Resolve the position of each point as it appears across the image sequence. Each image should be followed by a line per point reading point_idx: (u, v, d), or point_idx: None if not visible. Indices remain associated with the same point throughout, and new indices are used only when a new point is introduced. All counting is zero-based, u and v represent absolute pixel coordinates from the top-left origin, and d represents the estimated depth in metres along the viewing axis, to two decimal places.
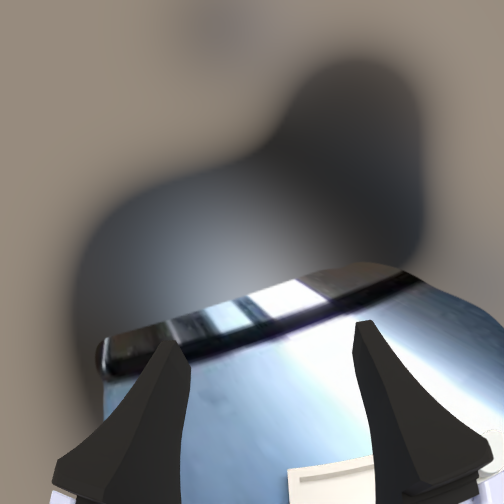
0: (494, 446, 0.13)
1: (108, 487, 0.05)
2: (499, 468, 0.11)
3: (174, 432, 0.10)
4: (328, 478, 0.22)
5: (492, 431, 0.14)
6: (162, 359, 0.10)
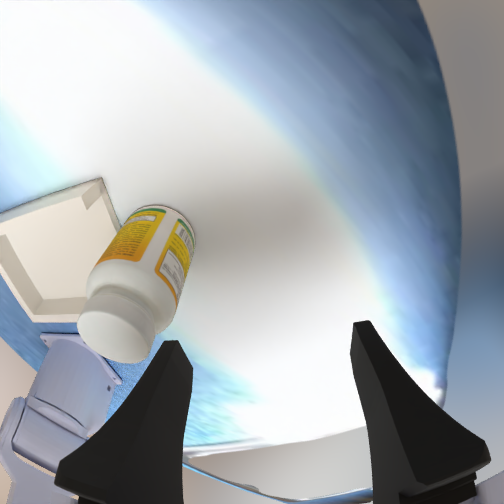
0: (113, 335, 0.13)
1: (111, 488, 0.05)
2: (127, 362, 0.14)
3: (176, 432, 0.10)
4: None
5: (105, 315, 0.12)
6: (164, 359, 0.10)
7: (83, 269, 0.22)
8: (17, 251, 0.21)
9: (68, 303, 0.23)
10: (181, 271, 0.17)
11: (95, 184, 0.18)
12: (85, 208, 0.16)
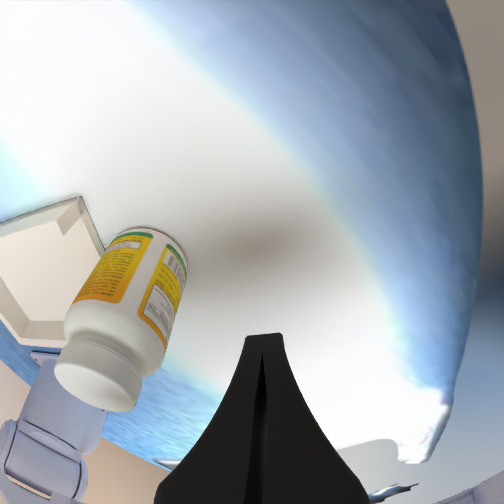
0: (93, 387, 0.11)
1: None
2: (112, 411, 0.12)
3: (265, 433, 0.09)
4: None
5: (81, 369, 0.10)
6: (256, 354, 0.10)
7: (68, 293, 0.20)
8: (0, 271, 0.19)
9: (55, 327, 0.21)
10: (171, 308, 0.15)
11: (73, 204, 0.15)
12: (61, 234, 0.14)
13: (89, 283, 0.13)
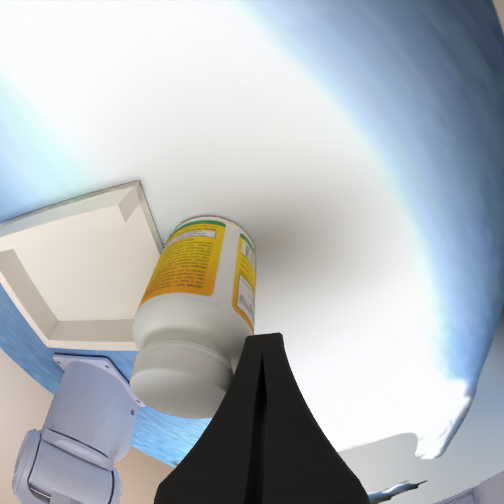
0: (182, 393, 0.10)
1: None
2: (194, 418, 0.11)
3: (265, 433, 0.09)
4: None
5: (177, 374, 0.09)
6: (256, 354, 0.10)
7: (110, 290, 0.19)
8: (27, 266, 0.18)
9: (90, 327, 0.20)
10: (254, 301, 0.14)
11: (133, 189, 0.15)
12: (123, 220, 0.13)
13: (166, 275, 0.12)
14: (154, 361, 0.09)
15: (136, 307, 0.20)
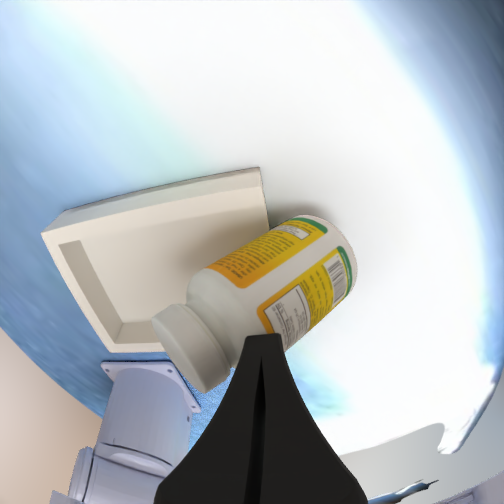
0: (176, 354, 0.12)
1: None
2: None
3: None
4: None
5: (167, 334, 0.11)
6: (256, 354, 0.10)
7: None
8: (95, 261, 0.18)
9: None
10: (306, 318, 0.13)
11: (259, 174, 0.15)
12: (262, 202, 0.14)
13: (231, 255, 0.14)
14: (162, 315, 0.12)
15: None
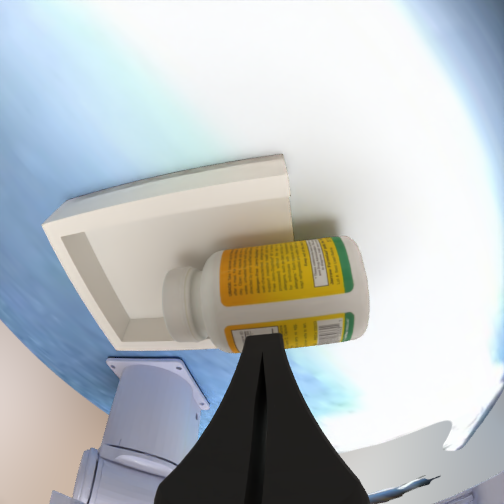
0: None
1: None
2: None
3: (265, 432, 0.09)
4: None
5: None
6: (256, 354, 0.10)
7: None
8: (101, 254, 0.17)
9: None
10: None
11: (284, 161, 0.14)
12: (288, 193, 0.13)
13: (247, 259, 0.14)
14: (169, 281, 0.14)
15: None
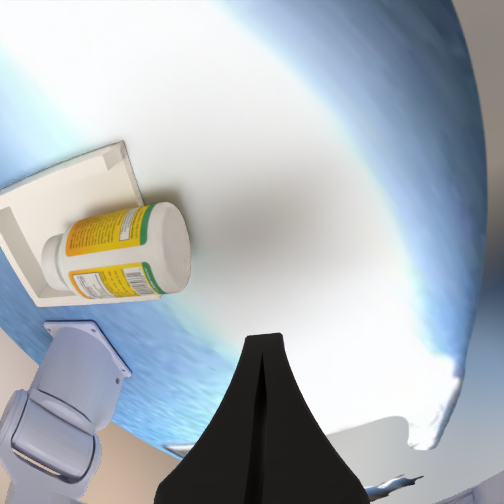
0: None
1: None
2: None
3: (265, 433, 0.09)
4: None
5: None
6: (256, 354, 0.10)
7: None
8: (23, 228, 0.20)
9: None
10: (106, 292, 0.16)
11: (117, 146, 0.16)
12: (106, 169, 0.15)
13: (87, 222, 0.16)
14: (47, 242, 0.17)
15: None
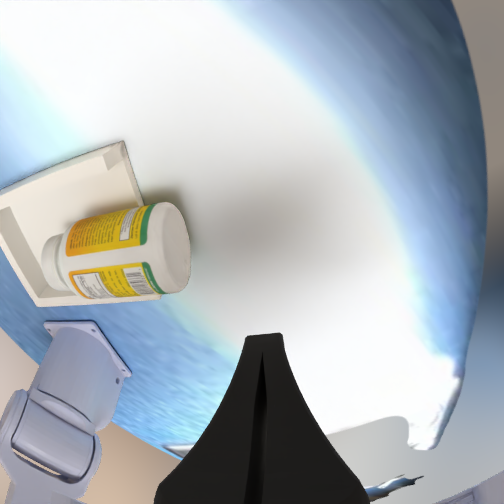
0: None
1: None
2: None
3: (265, 433, 0.09)
4: None
5: None
6: (256, 354, 0.10)
7: None
8: (23, 228, 0.20)
9: None
10: (106, 292, 0.16)
11: (117, 146, 0.16)
12: (106, 169, 0.15)
13: (87, 222, 0.16)
14: (47, 242, 0.17)
15: None
